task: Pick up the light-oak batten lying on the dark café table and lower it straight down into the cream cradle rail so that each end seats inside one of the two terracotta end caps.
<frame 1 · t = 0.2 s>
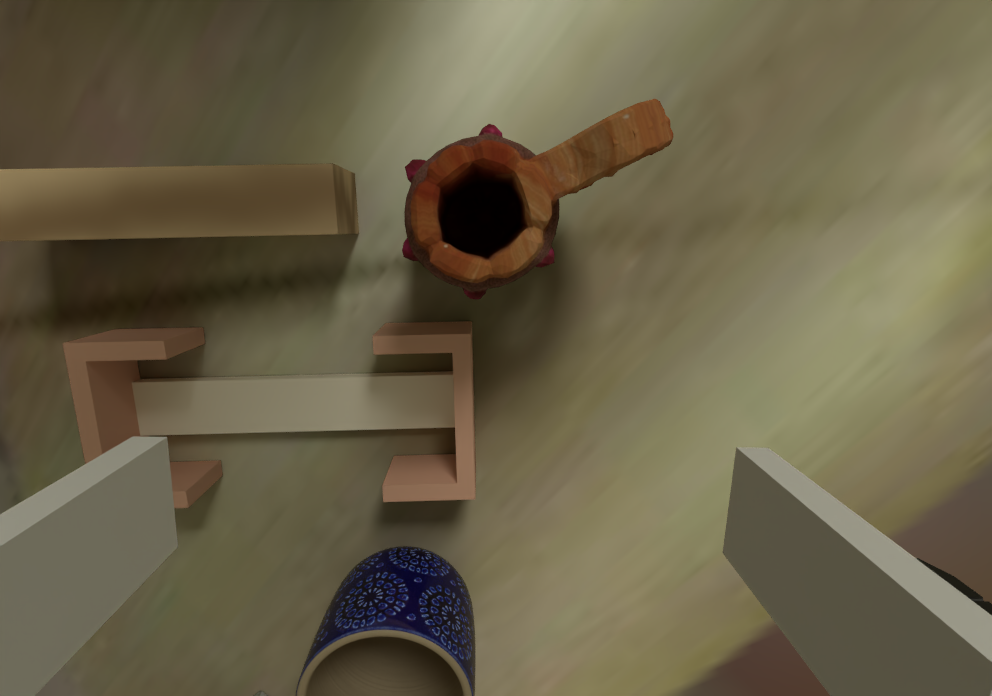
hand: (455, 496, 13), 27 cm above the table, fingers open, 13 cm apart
planter: (408, 587, 44), on the table
endcap rail: (302, 401, 40), on the table
tan wooden beam: (211, 207, 38), on the table
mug: (516, 201, 38), on the table
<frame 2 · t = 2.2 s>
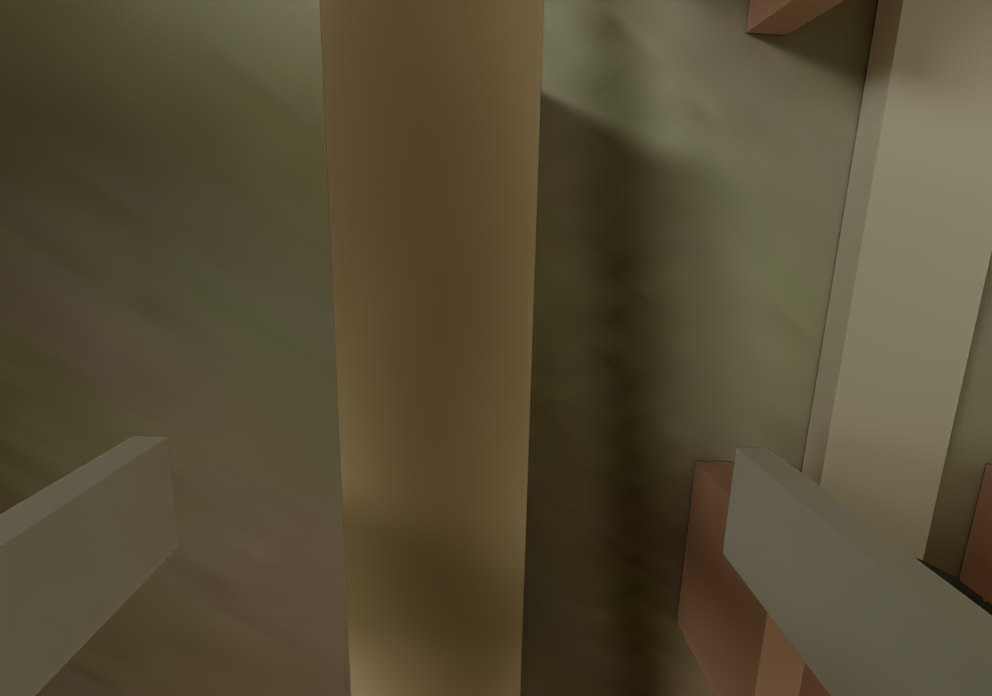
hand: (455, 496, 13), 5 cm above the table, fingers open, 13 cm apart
endcap rail: (896, 269, 17), on the table
tan wooden beam: (446, 412, 18), on the table
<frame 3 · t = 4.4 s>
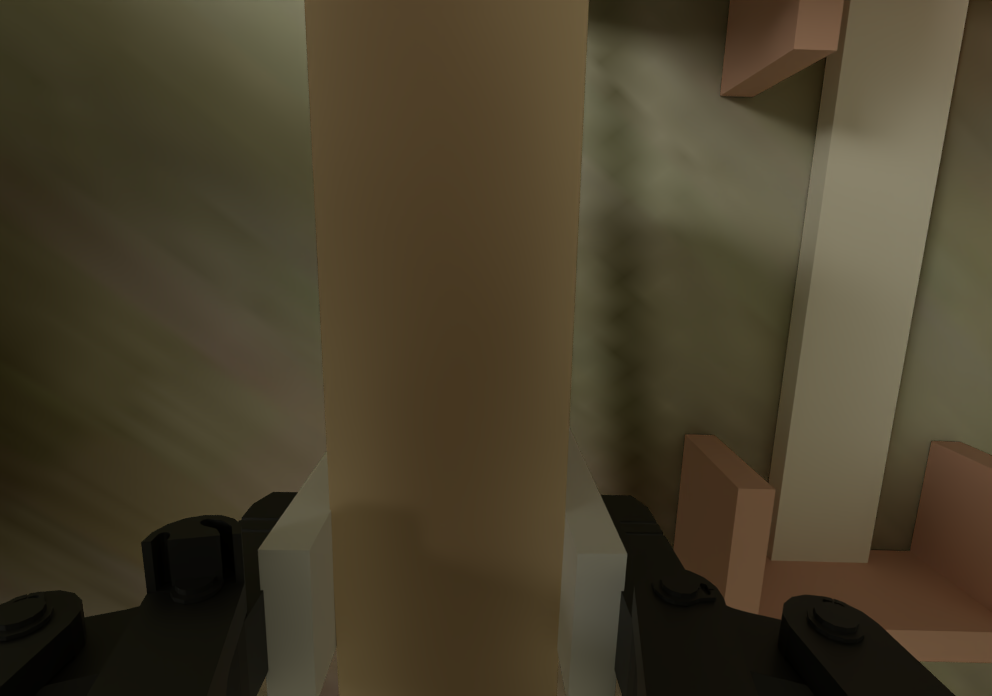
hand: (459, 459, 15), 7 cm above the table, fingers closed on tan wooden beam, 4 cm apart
endcap rail: (847, 279, 21), on the table
tan wooden beam: (460, 451, 15), point 7 cm above the table, touching gripper
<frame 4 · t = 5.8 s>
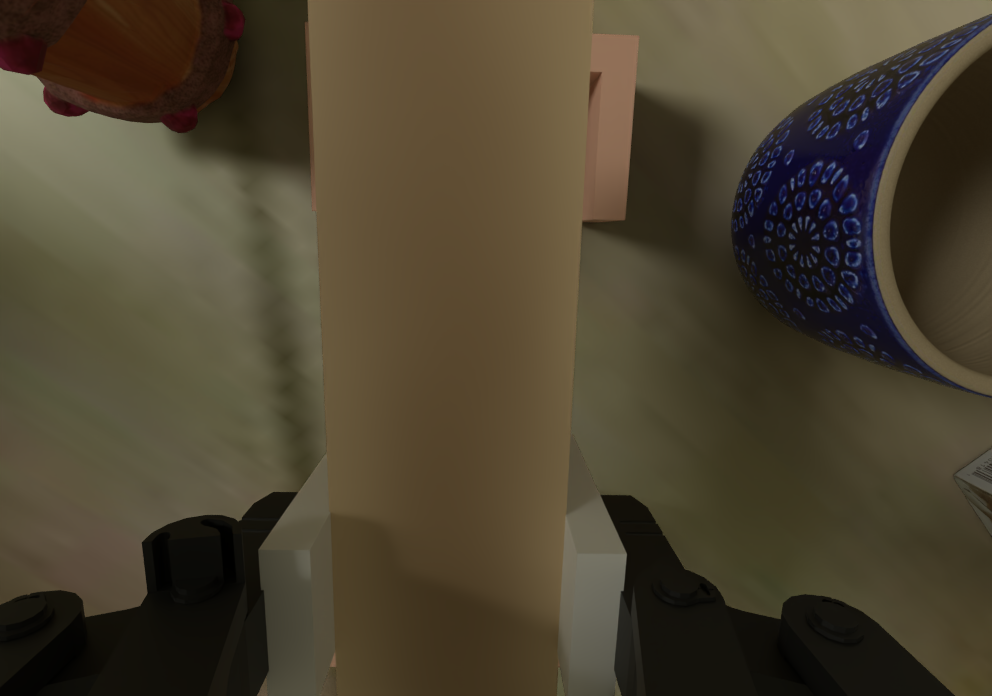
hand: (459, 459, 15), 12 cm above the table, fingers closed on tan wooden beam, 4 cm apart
planter: (815, 218, 25), on the table
endcap rail: (469, 358, 26), on the table
tan wooden beam: (460, 453, 15), point 11 cm above the table, touching gripper
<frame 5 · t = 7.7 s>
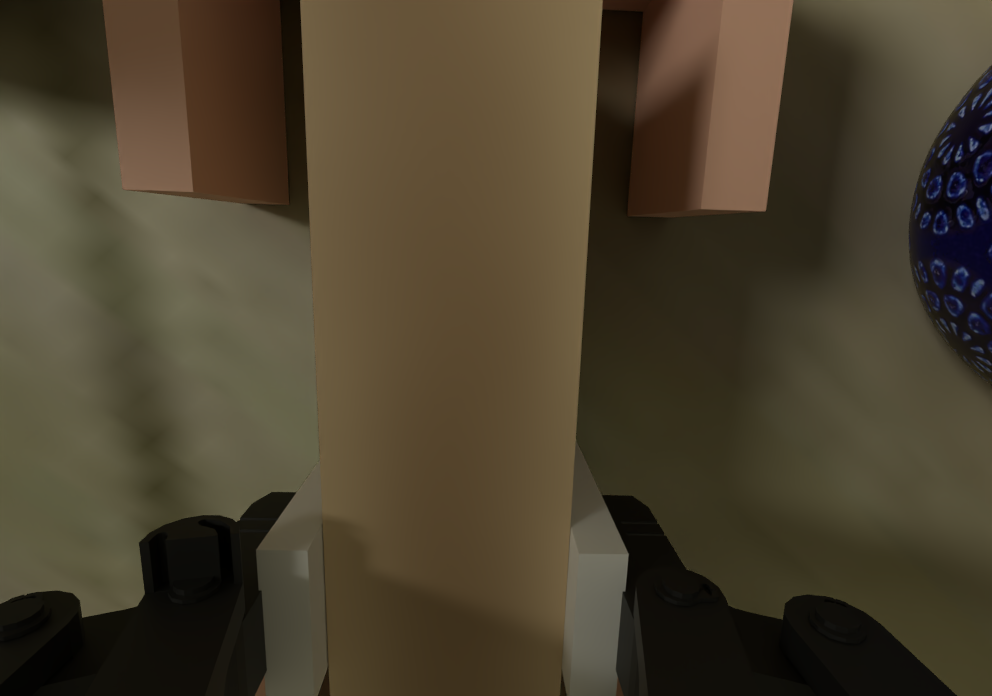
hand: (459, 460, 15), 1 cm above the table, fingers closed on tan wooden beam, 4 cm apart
endcap rail: (456, 439, 16), on the table
tan wooden beam: (459, 457, 15), point 1 cm above the table, touching endcap rail, gripper
when the fingers open (1 cm above the table, at t = 7.7 s): tan wooden beam stays where it is, resting on endcap rail.
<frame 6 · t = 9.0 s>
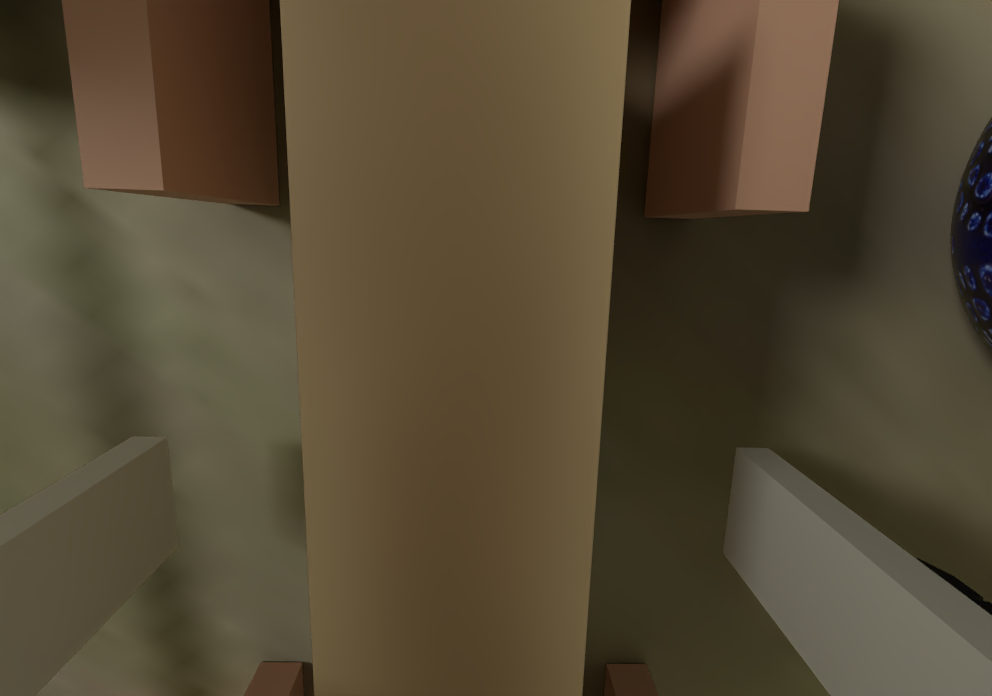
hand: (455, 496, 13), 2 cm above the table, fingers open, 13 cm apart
endcap rail: (459, 457, 15), on the table
tan wooden beam: (462, 478, 14), point 1 cm above the table, touching endcap rail
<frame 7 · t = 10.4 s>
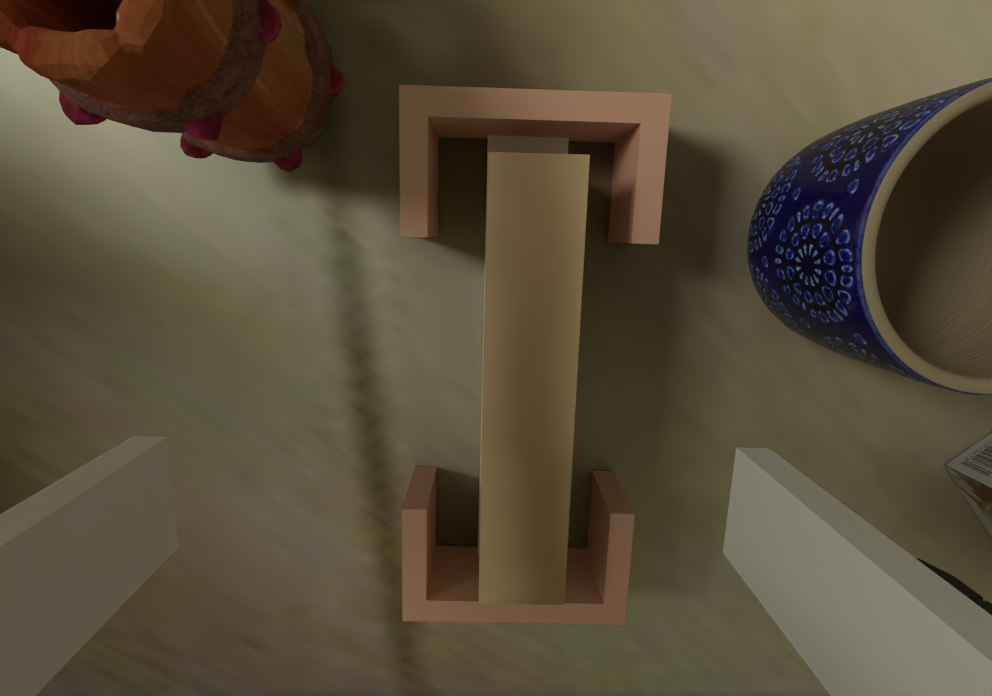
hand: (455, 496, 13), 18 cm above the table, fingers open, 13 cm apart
planter: (821, 238, 29), on the table
endcap rail: (518, 359, 30), on the table
tan wooden beam: (521, 365, 29), point 1 cm above the table, touching endcap rail
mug: (247, 35, 27), on the table
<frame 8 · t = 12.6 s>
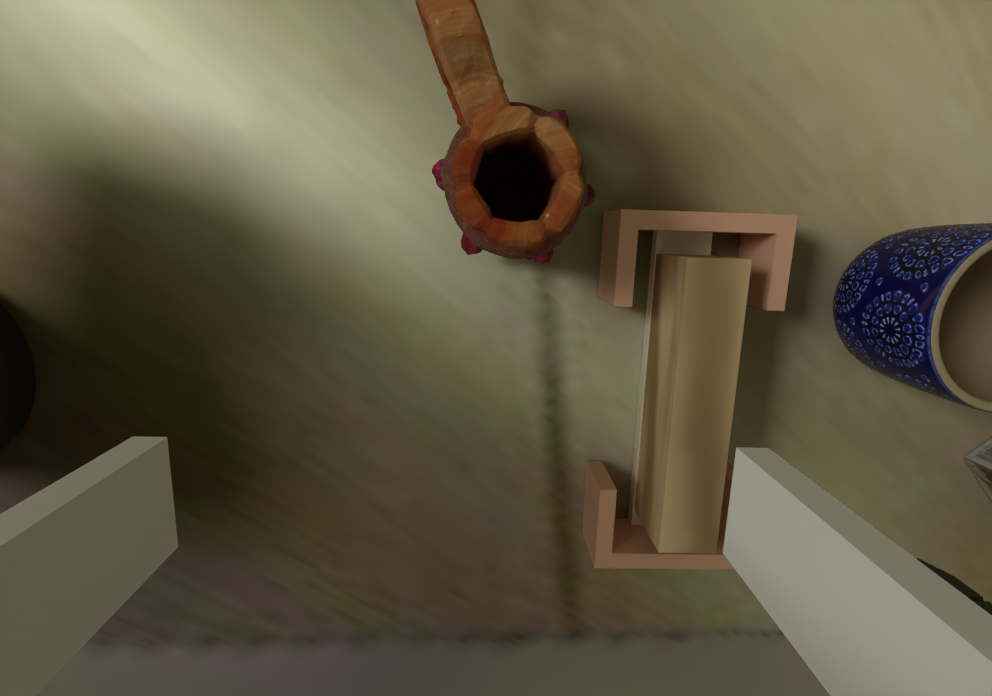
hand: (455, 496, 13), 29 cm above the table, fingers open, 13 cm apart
planter: (880, 298, 42), on the table
endcap rail: (665, 383, 42), on the table
tan wooden beam: (671, 388, 41), point 1 cm above the table, touching endcap rail
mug: (490, 160, 39), on the table
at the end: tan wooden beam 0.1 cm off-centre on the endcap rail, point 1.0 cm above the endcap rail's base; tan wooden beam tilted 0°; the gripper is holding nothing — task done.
